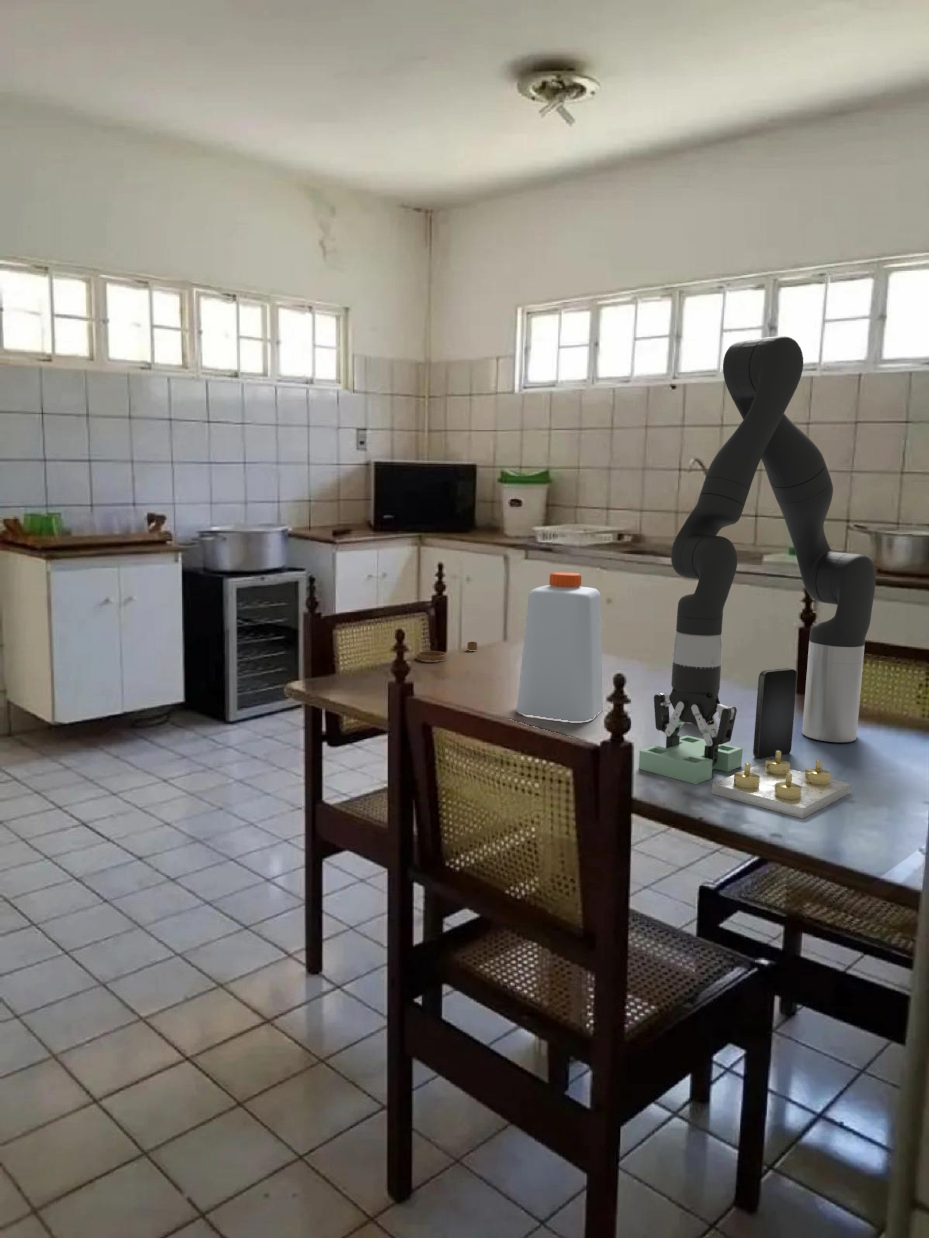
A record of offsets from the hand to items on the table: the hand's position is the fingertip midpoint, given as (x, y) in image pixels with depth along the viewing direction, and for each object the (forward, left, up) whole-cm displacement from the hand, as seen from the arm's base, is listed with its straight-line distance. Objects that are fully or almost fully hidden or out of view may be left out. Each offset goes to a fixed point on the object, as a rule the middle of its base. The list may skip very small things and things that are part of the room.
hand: (690, 762), depth 151 cm
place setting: (-25, -81, -2) cm, 85 cm away
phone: (-16, +6, -1) cm, 17 cm away
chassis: (+1, +16, -1) cm, 16 cm away
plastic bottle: (-10, -35, -1) cm, 36 cm away
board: (0, 0, -1) cm, 1 cm away
